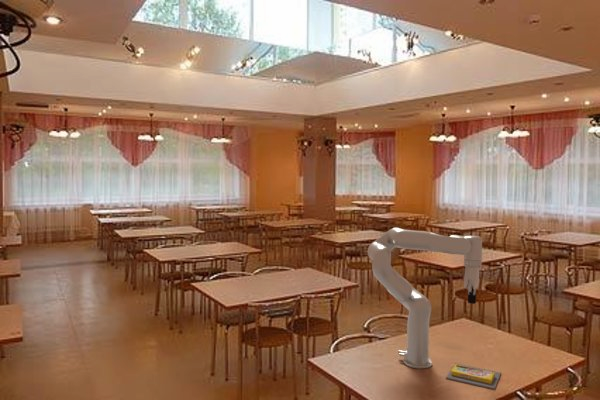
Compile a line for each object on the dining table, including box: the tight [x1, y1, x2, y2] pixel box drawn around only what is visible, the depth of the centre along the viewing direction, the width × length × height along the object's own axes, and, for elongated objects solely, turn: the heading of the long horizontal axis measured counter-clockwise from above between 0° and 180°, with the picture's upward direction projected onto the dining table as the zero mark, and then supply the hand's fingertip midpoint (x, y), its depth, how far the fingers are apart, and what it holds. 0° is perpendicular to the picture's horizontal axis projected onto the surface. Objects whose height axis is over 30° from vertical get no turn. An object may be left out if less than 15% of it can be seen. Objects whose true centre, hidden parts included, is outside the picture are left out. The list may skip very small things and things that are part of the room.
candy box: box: [450, 363, 496, 384], centre depth 197 cm, size 16×2×8 cm
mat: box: [445, 363, 502, 391], centre depth 198 cm, size 19×17×1 cm
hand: (471, 302), depth 212 cm, fingers closed
